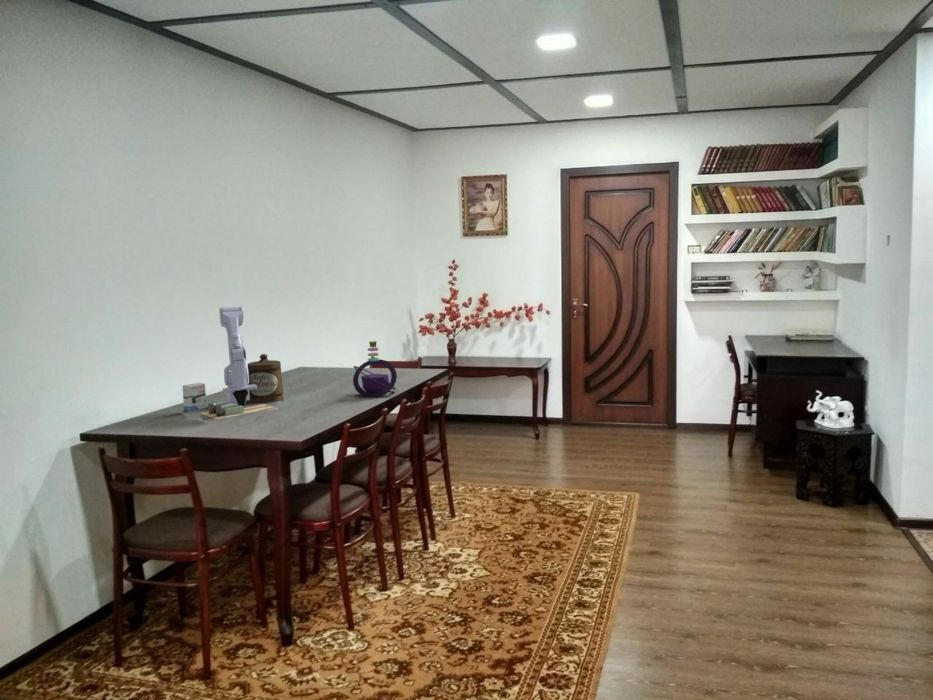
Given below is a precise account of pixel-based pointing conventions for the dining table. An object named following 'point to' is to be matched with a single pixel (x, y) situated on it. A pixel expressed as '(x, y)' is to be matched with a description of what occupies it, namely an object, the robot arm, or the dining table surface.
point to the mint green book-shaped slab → (233, 409)
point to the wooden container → (265, 380)
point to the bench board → (247, 410)
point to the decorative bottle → (374, 377)
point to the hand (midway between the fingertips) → (241, 408)
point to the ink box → (194, 396)
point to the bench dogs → (216, 409)
